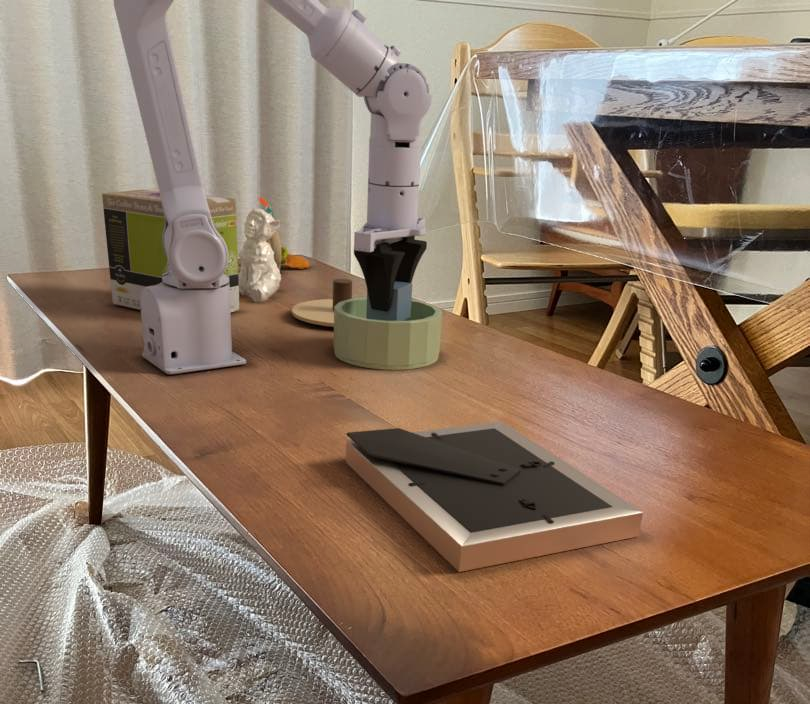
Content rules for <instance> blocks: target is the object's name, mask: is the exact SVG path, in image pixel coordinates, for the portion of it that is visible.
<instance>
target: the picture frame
mask: <svg viewBox="0 0 810 704" xmlns="http://www.w3.org/2000/svg"><path fill="white" fill-rule="evenodd" d="M346 436H347V437H348V438H349V439H350V440H346V443H345V445H346V446H345V463H346V465H348V466H349V467H350V468H351V470H352V471H354V472H355V473H356V474H357V475H358V476H359V478H361V479H362V480H363V481H364V482H365V483H366V484H367V485H368V486H369V487H370V488H372V489H373V491H374V492H376V493H377V494H378V495H379V496H380V497H381V498H382V500H384V501H385V502H386V503H387V504H388V505H389V506H390V507H391V508H392V509H393V510H394V511H395V512H396V513H397V514H398V515H399V516H400V517H401V518H402V519H403V520H404V521H406V523H408V524H409V525H410V527H412V528H413V529H414V531H416V533H418V534H419V536H421V537H422V538H423V539H424V540H425V541H426V542H427V543H428V544H429V545H430V546H431V547H432V548H434V549H435V550H436V551H437V553H439V554H440V555H441V556H442V558H444V559H445V560H446V561H447V562H448V563H449V564H450V565H451V566H452V567H453V568H454V569H455V570H456V571H457V572H458V573H461V572H467V571H472V570H476V569H481V568H482V569H483V568H488V567H492V566H497V565H502V564H508V563H512V562H518V561H523V560H528V559H531V558H532V559H533V558H537V557H542V556H547V555H552V554H557V553H563V552H567V551H573V550H577V549H583V548H588V547H592V546H597V545H602V544H607V543H613V542H616V541H623V540H627V539H633V538H637V537H639V536H640V531H641V525H642V520H643V515H644V512H643V511H642V510H641V509H639V508H637V507H636V506H634V505H633V504H632V503H630V502H628V501H626V500H625V499H623V498H622V497H620V496H619V495H618V494H616V493H614V492H612V491H611V490H609V489H608V488H606V487H605V486H603V485H602V484H600V483H599V482H597V481H595V480H594V479H592V478H591V477H589V476H587V475H586V474H585V473H583V472H582V471H580V470H578V469H577V468H576V467H574V466H572V465H571V464H569V463H567V462H566V461H564V460H563V459H561V458H560V457H558V456H557V455H555V454H554V453H552V452H551V451H549V450H547V449H546V448H544V447H542V446H541V445H539V444H538V443H536V442H535V441H533V440H532V439H530V438H529V437H528V436H525V435H524V434H522V433H521V432H520V431H518V430H516V429H515V428H513V427H512V426H510V425H508V424H507V423H506V422H504V421H502V420H501V421H500V420H499V421H492V422H485V423H484V422H483V423H476V424H467V425H461V426H460V425H459V426H451V427H445V428H437V429H428V430H420V431H413V432H412V431H408V430H405V429H403V428H400V427H395V428H384V429H371V430H362V431H350V432H346Z"/></svg>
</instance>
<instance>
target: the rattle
mask: <svg viewBox="0 0 810 704" xmlns="http://www.w3.org/2000/svg"><path fill="white" fill-rule="evenodd" d="M258 201H259V203H260V204H261V205H262V206H264V207H265V208H264V211H265V212H267V213H269V214H271V215H272V217H273V219H274V220H275V221H276V219H275V217H274V209H273V208H272V207H271V205H269V203H268V202H267V200H266V199H265V198H264V197H263V196H259V197H258ZM266 242H267V243H269V245H270V246H271V248H272V251H273V252H274V260H275V262H276V263H277V268H278V269H279V271H281V266H285V267H289V268H290V269H297V270H305V269H309V267H310V263H309V261H308V260H306V258H305V257H303V256H301V255H293V254H291V253H289V251H288V248H287V247H286V246H282V244H281V237H280V234H279V232H278V229H277V230H276V232H274V233H273V236H271V238H270V239H268V240H267V241H266Z"/></svg>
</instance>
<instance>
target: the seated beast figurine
mask: <svg viewBox="0 0 810 704" xmlns="http://www.w3.org/2000/svg"><path fill="white" fill-rule="evenodd" d="M273 217H274V216H273ZM273 217H272V215H271V214H269V213H267V212H265V209H262V208H257V207H254V208H251V211H249V213H248V214H247V216H246V220H245V222H243V225H244V227H243V228H244V231H243V234H244V236H245V238H246V239H245V241H244V242H243V245H242V248H241V251H239V253H238V258H239V260H240V265H241V266H240V270H239V272H238V276H239V296H246V297H248V298H251V300H253V302H254V303H262V302H265V301H266V302H267V301H268V299H269V298H271V297H272V296H273V295H274V294H276V292H277V291H279V289H280V287H281V286H280V283H281V281H282V274H281V272H280V271H281V270H280V271H279V269H278V268H277V263H276V262H275V260H274V252H273V251H272V248H271V246H270V245H269V243H267V242H266V241H267V240H268V239H270V238H271V236H273V233H274V232H276V230H277V231H278V230H279V229H280V227H281V220H280V219H277V220H276V219H275V218H274V219H275V220H274V219H273Z"/></svg>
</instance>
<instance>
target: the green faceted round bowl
mask: <svg viewBox="0 0 810 704" xmlns="http://www.w3.org/2000/svg"><path fill="white" fill-rule="evenodd" d="M366 312H367V296H363V297H354V298H353V297H352V299H348V300H345V301H341V302H339V303H338V304H337V305H336V306H335V307H334V327H333V350H334V351H333V352H334V355H335V357H336V358H337V359H339V360H340V361H342V362H344V363H347V364H349V365H353V366H356V367H361V368H366V369H373V370H383V371H385V370H386V371H404V370H405V371H406V370H414V369H419V368H425V367H428V366H430V365H433V364H435V363H436V362H437V361H438V360H439V356H440V355H439V354H440V352H441V351H440V349H441V336H442V323H443V311H442V309H440V308H439V306H437V305H434V304H431V303H429V302H426V301H424V300H423V301H422V300H419V299H413V298H412V301H411V317H410V318H408V319H405V320H403V321H384V320H373V319H366Z"/></svg>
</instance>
